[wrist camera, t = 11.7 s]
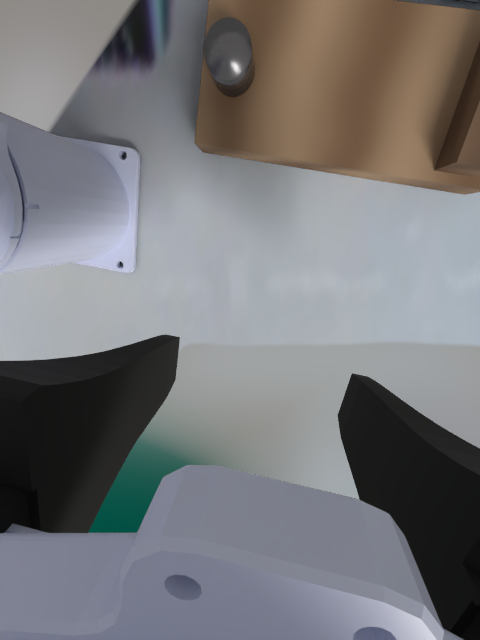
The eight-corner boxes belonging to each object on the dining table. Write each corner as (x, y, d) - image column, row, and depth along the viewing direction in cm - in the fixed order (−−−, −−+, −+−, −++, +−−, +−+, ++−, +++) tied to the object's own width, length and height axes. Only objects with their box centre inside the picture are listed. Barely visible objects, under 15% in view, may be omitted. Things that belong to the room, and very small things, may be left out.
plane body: (203, 152, 18) (183, 131, 14) (218, 8, 15) (199, -62, 12) (464, 194, 17) (519, 184, 13) (523, 47, 14) (610, -17, 11)
